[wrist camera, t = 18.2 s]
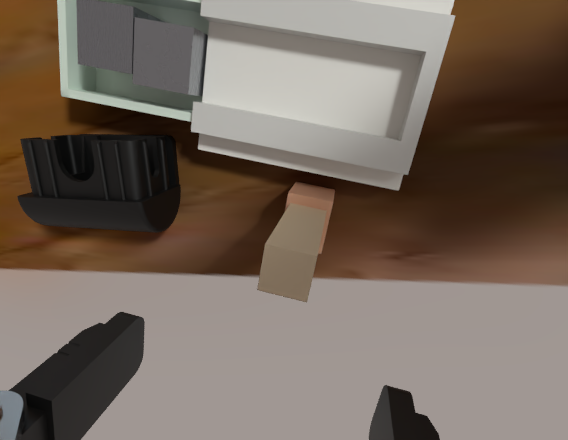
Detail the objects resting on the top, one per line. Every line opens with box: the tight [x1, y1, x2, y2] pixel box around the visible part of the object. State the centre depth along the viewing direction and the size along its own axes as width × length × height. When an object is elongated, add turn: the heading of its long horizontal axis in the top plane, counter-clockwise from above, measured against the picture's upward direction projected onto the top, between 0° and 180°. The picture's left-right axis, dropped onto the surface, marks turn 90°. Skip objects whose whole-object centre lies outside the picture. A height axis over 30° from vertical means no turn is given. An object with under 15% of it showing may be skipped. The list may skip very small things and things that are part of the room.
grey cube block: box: [133, 17, 208, 96], centre depth 24 cm, size 4×4×4 cm
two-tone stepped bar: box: [257, 182, 335, 302], centre depth 23 cm, size 3×4×12 cm
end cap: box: [17, 134, 181, 232], centre depth 27 cm, size 10×7×7 cm
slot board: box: [191, 0, 455, 191], centre depth 23 cm, size 15×12×4 cm
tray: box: [57, 0, 209, 122], centre depth 25 cm, size 10×8×4 cm
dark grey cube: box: [76, 0, 164, 74], centre depth 24 cm, size 4×4×4 cm
